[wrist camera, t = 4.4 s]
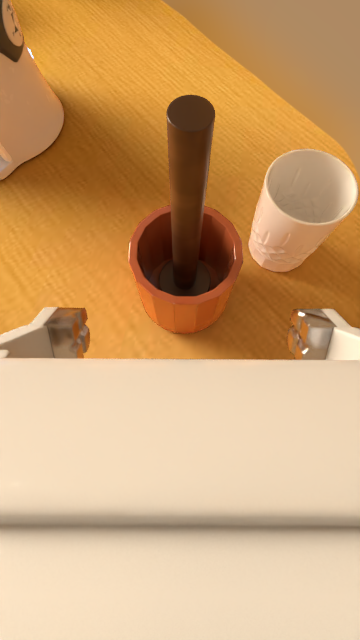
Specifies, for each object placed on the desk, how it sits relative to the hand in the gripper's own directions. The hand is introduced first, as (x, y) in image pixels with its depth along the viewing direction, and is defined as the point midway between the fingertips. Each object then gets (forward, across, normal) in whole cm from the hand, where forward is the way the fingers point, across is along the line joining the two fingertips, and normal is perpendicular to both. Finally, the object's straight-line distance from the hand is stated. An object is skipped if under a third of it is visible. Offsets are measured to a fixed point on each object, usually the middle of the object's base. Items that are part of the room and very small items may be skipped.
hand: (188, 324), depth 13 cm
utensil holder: (+21, 0, +8) cm, 22 cm away
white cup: (+25, -11, +4) cm, 28 cm away
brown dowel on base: (+21, 0, +7) cm, 22 cm away
